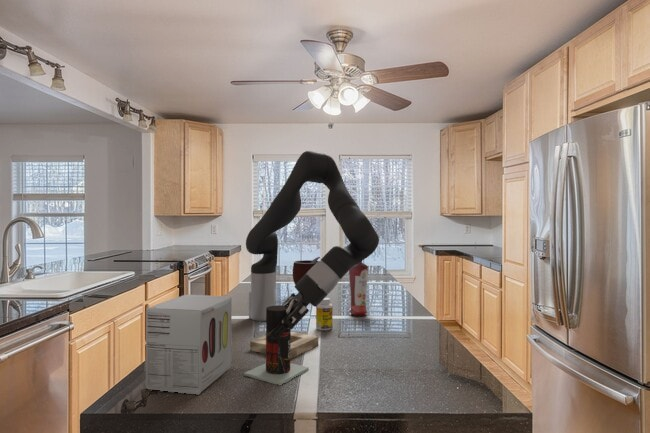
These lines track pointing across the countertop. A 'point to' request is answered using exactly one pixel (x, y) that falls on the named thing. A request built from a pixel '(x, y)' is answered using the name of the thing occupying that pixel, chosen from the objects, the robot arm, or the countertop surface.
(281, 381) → the plate
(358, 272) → the liquor
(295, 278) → the mate gourd
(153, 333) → the supplement box
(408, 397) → the countertop surface
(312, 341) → the socket block
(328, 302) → the supplement bottle
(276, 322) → the deodorant
